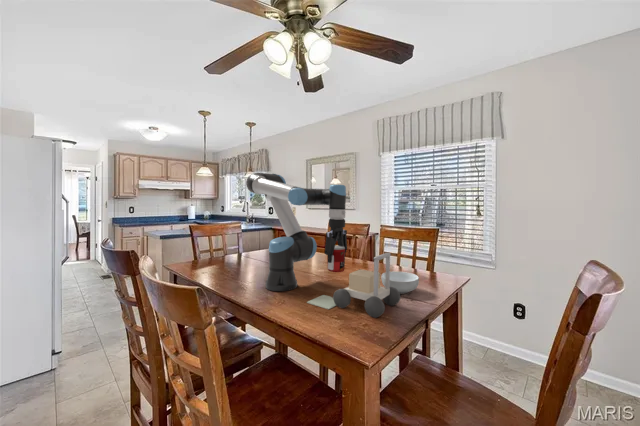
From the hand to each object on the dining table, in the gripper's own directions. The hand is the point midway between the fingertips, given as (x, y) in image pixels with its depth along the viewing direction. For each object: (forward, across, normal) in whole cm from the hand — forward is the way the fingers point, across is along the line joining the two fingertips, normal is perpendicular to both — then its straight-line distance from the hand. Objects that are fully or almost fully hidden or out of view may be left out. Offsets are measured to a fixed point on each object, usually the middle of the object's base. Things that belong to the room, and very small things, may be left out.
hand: (335, 267), depth 128 cm
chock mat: (+10, -15, -6) cm, 19 cm away
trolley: (+10, -8, -21) cm, 24 cm away
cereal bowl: (+10, +18, -24) cm, 32 cm away
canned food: (+1, 0, 0) cm, 1 cm away
